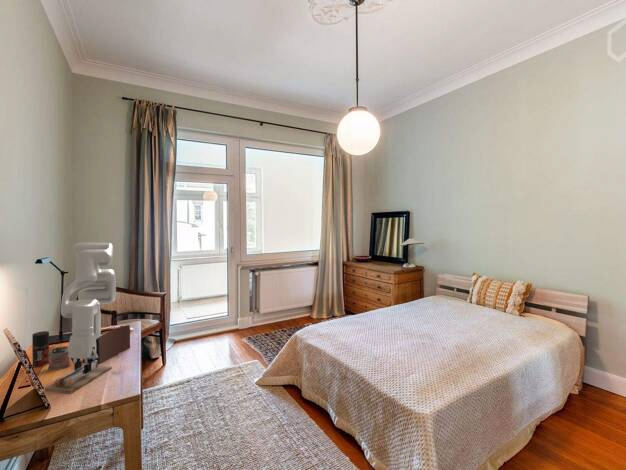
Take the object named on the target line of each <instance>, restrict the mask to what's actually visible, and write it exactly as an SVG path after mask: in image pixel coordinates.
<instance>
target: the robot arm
mask: <svg viewBox="0 0 626 470" xmlns="http://www.w3.org/2000/svg"><path fill="white" fill-rule="evenodd" d="M72 250H73V254H74V255H75V257H76V268H75V279H74V280H73V281H72V282H71V283H70V284H69V285H68V286H67V287H66V288H65V289H64V291H63V294H62V296H61V304H60V313H61V316H62V317H63V318H65V319H71V318H72V319H71V320H72V322H71V324H72V325H71V327H72V328H71V332H72V334H71V335H70V337H69V341H68V349H67V350H68V357H69V358H70V359H71V360H70V361H72V364H73V365H74V367H73V369H74V370H76V369H78V368H80V367H81V366H83V365H84V374H87V373H88V372H90V371H91V363H92V362H93V361H94V360H95V359H96V358H98V355H97V353H96V339H97V338H99V337H100V336H102V335H101V333H102V312H101V305H106V304H111V303H113V302H115V300H116V296H117V286H116V285H117V279H116V276H117V275H116V272H115V271H114V269H112V268H102V269H101V267H102V266H105V267H106V266H110V265H112V262H113V261H114V260H113V259H114V246H113V244H112V243H110V242H93V241H92V242H78V243H75V244H73V247H72ZM84 287H85V288H84ZM86 287H88V288H86ZM83 288H84V289H83ZM80 289H81V290H80ZM78 290H80V291H79V292H78V294H77V298H78V300H77V299H76V300H71V296H72V295H73V294H74V293H75V292H77V291H78ZM92 356H93V357H92ZM88 358H89V360H88ZM82 359H85V362H84V363H85V364H86V365H85V364H83V362H82ZM74 370H73V371H74Z"/></svg>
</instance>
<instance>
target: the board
mask: <svg viewBox="0 0 626 470" xmlns="http://www.w3.org/2000/svg"><path fill="white" fill-rule="evenodd" d="M112 369H113V367H112V366H109V365H108V366H107V365H100V364H97V368H96V369H94V370H93V371H91V372H90V373H88V374H87V375H85V376H84V377H82V378H81V379H79V380H78V381H76V382H75V383H73V384H72V385H70V386H69V387H65V384H64V385H62V386H60V387H56V382H54V383H52V384H50V385H48V386H46V387H45V389H44V390H45V392H55V393H69V394H73V393H75V392H76V391H78V390H79V389H80V388H82V387H84V386H86V385H87V384H89V383H91V382H92V381H94V380H96V379H98V378H99V377H100V376H102V375H103V374H106V373H107V372H109V371H110V370H112Z"/></svg>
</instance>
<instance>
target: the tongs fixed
mask: <svg viewBox="0 0 626 470" xmlns="http://www.w3.org/2000/svg"><path fill="white" fill-rule="evenodd" d="M93 362H96V368H97V365H98V364H97V360H94V361H93ZM93 362H92V363H93ZM84 365H86V364H82V366H81V367H80V368H78V369H76V370H72V371H70V372H68V373H66V374H65V375H63V376H60V377H59V378H56V380H55V383H56V387H60V386H62V385H64V384H65V379H67V378H68V377H70V376H72V375H73V374H75V373H77V372H78V371H80V370H81V369H83V368H84Z"/></svg>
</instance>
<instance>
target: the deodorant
mask: <svg viewBox="0 0 626 470" xmlns="http://www.w3.org/2000/svg"><path fill="white" fill-rule="evenodd" d="M31 337H32V343H31V345H32V356H31V357H32V360H31V361H32V365H31V366H32V367H33V366H34V368H40V367H43V366H47V365H49V355H48V353H50V331H45V330H44V331H37V332H35V333H33V334H32V335H31Z"/></svg>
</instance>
